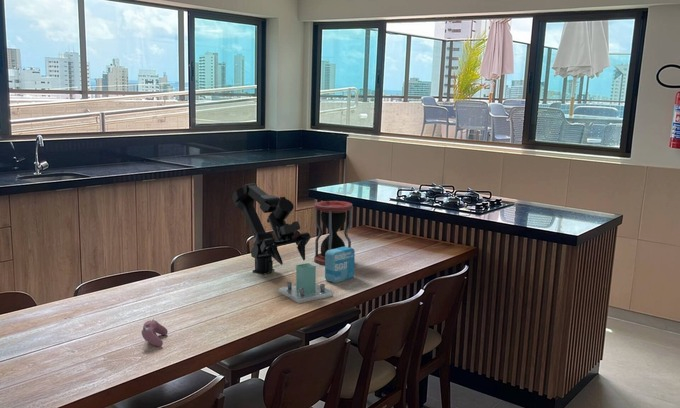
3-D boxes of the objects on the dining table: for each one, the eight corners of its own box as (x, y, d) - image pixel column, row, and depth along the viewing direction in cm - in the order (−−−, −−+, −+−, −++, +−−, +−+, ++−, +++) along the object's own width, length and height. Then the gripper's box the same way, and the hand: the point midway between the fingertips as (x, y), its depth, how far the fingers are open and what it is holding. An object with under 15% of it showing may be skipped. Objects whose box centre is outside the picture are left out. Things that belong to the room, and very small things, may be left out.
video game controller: (155, 339, 180) (143, 319, 179) (169, 332, 180) (157, 312, 179) (148, 353, 170) (136, 332, 169) (163, 345, 170) (151, 325, 169)
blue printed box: (333, 283, 230) (333, 253, 228) (324, 281, 233) (324, 250, 231) (354, 277, 238) (355, 247, 236) (346, 274, 242) (346, 245, 239)
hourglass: (354, 257, 268) (355, 201, 264) (348, 267, 252) (349, 207, 248) (318, 254, 271) (318, 199, 266) (310, 264, 255) (310, 206, 251)
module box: (296, 289, 218) (296, 265, 216) (308, 287, 221) (308, 263, 219) (303, 293, 214) (303, 268, 212) (315, 290, 217) (315, 266, 215)
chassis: (279, 292, 219) (279, 281, 219) (312, 285, 227) (312, 275, 226) (298, 303, 208) (298, 291, 207) (332, 296, 216) (333, 285, 215)
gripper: (262, 218, 219) (276, 255, 212) (308, 211, 228) (322, 247, 222) (254, 234, 227) (267, 270, 221) (298, 226, 237) (312, 261, 230)
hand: (293, 262), depth 223 cm, fingers open, 9 cm apart
